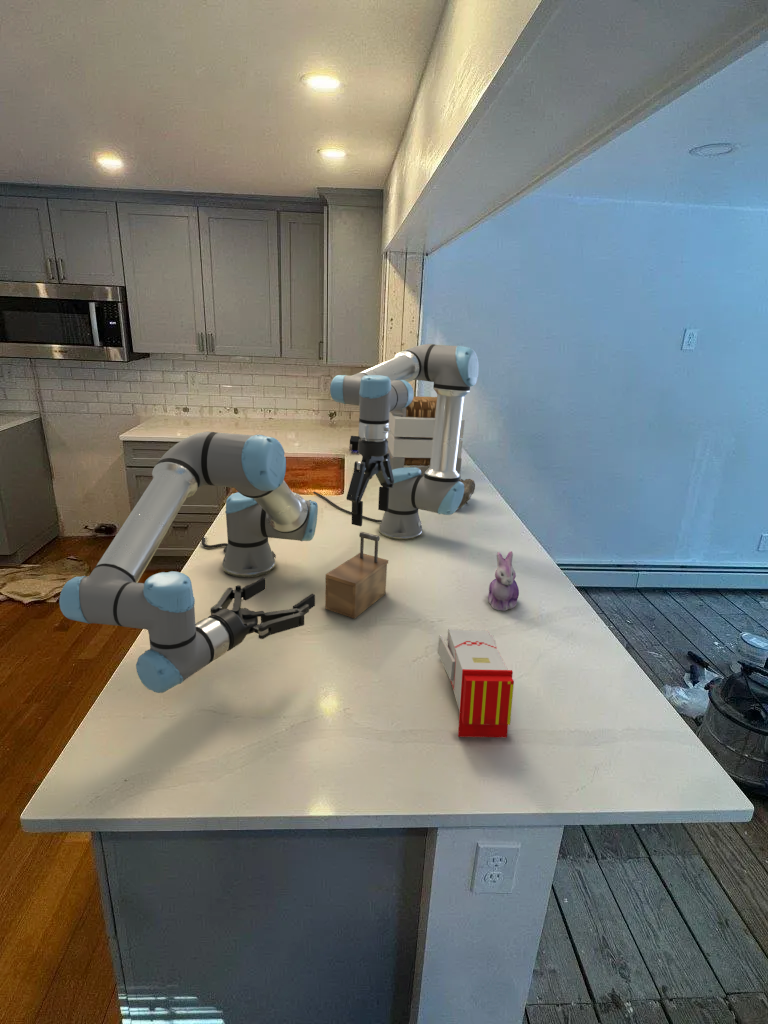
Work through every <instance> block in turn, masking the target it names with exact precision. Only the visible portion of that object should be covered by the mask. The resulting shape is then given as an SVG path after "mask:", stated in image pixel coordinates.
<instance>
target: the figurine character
mask: <svg viewBox="0 0 768 1024" xmlns="http://www.w3.org/2000/svg"><path fill="white" fill-rule="evenodd" d="M359 439H360V437H359V436H358V435H350V438H349V446H348V448H349V449H348V450H349V451H351V455H352V454H354V453H356V455H358V454H359V452H358V440H359Z"/></svg>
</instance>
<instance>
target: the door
mask: <svg viewBox="0 0 768 1024" xmlns="http://www.w3.org/2000/svg"><path fill="white" fill-rule="evenodd" d="M358 535H359V538H360V544H359V546H360V547H359V548H360V549H359V552H358V553H357V554H356V555H354V556H352V557H351V558H349V559H348V560H346V561H344V562H343V563H342V564H340V565H338V566H337V567H335V568H333V569H332V570H330V571H329V572H327V573H326V574H325V579H326V578H329V579H332V580H335V581H339V582H342V583H345V584H348V585H351V586H355V587H356V586H357V585H359V584H360V583H361V582H363V581H364V580H366V579H367V578H368V577H370V576H371V575H373V574H374V573H375V572H377V571H378V570H380V569H381V568H382V567H384V566H385V565H387V566H388V565H389V559H385V558H382V557H379V542H380V538H381V536H380V535H377V534H372V533H370V532H365V531H360V532H359V534H358ZM365 540H369V541H372V542H374V553H373V554H374V555H371V554H367V553H365V552H364V547H365Z"/></svg>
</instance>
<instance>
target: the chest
mask: <svg viewBox="0 0 768 1024" xmlns="http://www.w3.org/2000/svg"><path fill="white" fill-rule="evenodd" d="M387 570H388V564H387V565H385V566H384V567H382V568H381V569H380V570H378V571H377V572H375V573H374V574H373V575H371V576H370V577H368V578H367V579H366V580H364V581H363V582H361V583H360V584H359V585H357V586H356V587H355V586H351V585H348V584H345V583H342V582H339V581H335V580H332V579H329V578H326V577H325V587H324V588H325V590H324V591H325V592H324V595H325V597H324V598H325V601H324V603H325V604H324V605H325V606H324V607H325V608H324V609H325V610H327V611H330V612H334V613H336V614H340V615H343V616H345V617H348V618H351V619H354V620H356V618H358V617H359V616H360V615H361V614H362V613H364V612H365V611H366V610H368V609H369V608H370V607H372V605H374V604H375V603H376V602H377V601H379V600H380V599H381V598H383V597H384V596H385V595H386V593H387V592H386V589H387V573H388V571H387Z"/></svg>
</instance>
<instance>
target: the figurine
mask: <svg viewBox="0 0 768 1024" xmlns="http://www.w3.org/2000/svg"><path fill="white" fill-rule="evenodd" d="M513 556H514V553H513V551H512V550H510V551H508V553H507V555H506V556H505V558H504V556H503V555H502V553H501V552H500V551H497V552H496V562H497V563H496V564H497V567H496V569H495V571H494V576H495V578H494V579H492V581H491V582H489V585H488V596H487V601H488V602H487V603H489V605H491V608H492V609H493V610H496V611H497V610H498V611H503V612H505V611H507V610H511V609H514V608H515V606H516V605H517V603H518V599H519V596H520V590H519V585H518V583H517V581H516V576H517V575H516V571H515V568H514V566H513Z"/></svg>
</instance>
